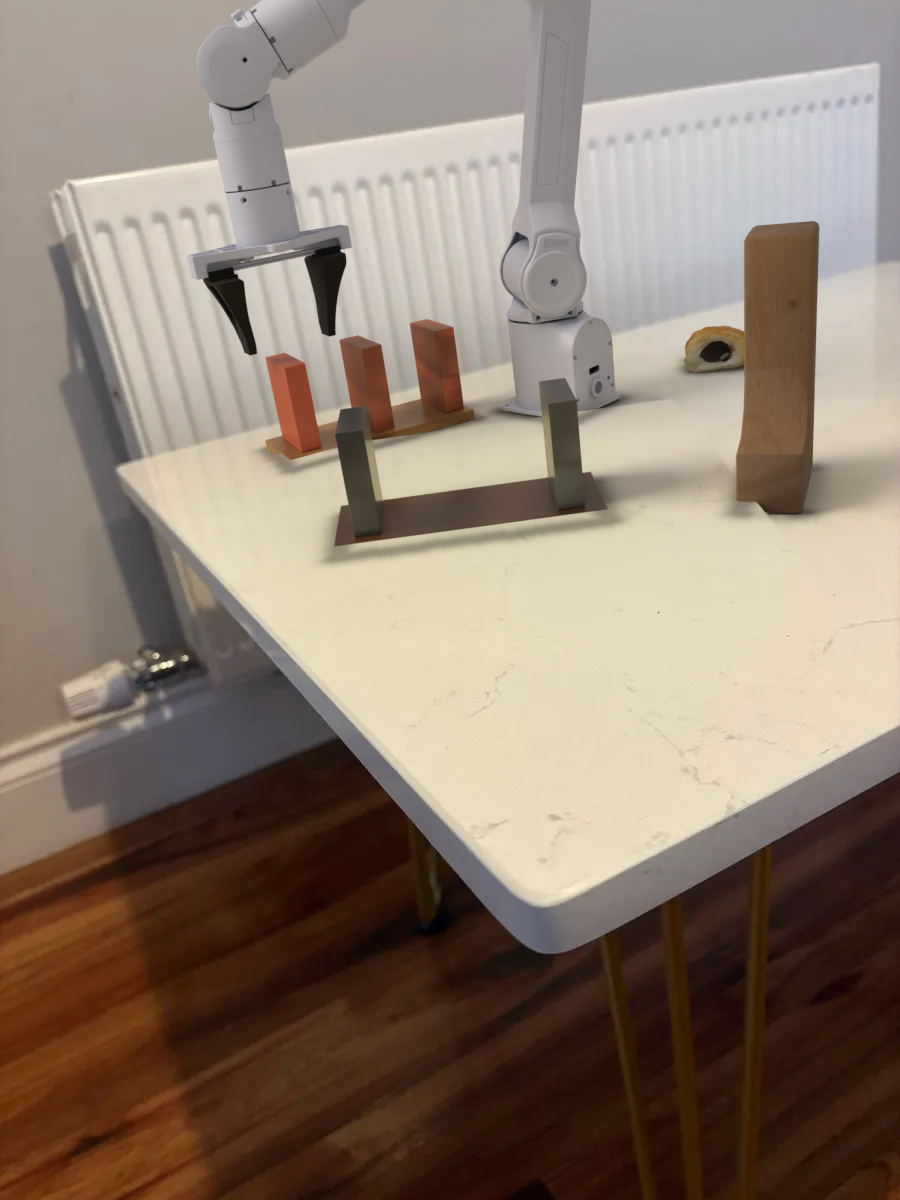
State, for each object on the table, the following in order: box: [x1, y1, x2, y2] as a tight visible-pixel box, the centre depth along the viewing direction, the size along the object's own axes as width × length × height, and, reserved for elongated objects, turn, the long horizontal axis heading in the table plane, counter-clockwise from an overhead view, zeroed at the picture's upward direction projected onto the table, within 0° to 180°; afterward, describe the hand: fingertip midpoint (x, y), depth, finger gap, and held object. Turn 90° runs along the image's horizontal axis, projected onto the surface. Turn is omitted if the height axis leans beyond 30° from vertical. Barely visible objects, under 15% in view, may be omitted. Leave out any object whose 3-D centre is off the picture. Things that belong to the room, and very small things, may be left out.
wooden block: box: [735, 220, 820, 514], centre depth 71 cm, size 9×4×18 cm, turn 159°
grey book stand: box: [333, 378, 608, 547], centre depth 76 cm, size 20×8×9 cm, turn 92°
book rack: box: [264, 318, 475, 461], centre depth 99 cm, size 19×8×9 cm, turn 116°
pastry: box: [683, 325, 744, 373], centre depth 107 cm, size 9×7×4 cm
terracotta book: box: [265, 352, 322, 453], centre depth 96 cm, size 2×6×8 cm, turn 26°
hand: (290, 343), depth 95 cm, fingers open, 7 cm apart
